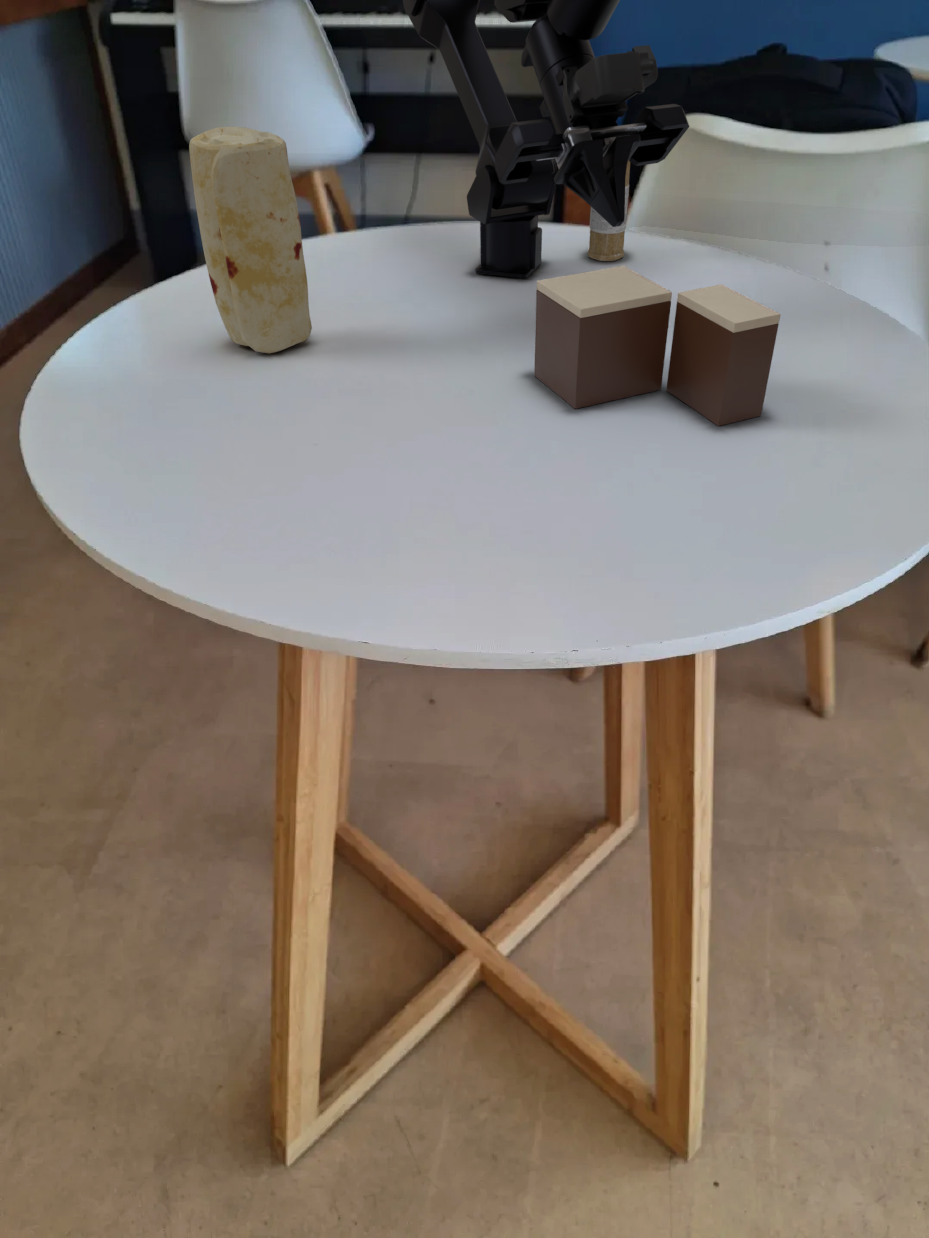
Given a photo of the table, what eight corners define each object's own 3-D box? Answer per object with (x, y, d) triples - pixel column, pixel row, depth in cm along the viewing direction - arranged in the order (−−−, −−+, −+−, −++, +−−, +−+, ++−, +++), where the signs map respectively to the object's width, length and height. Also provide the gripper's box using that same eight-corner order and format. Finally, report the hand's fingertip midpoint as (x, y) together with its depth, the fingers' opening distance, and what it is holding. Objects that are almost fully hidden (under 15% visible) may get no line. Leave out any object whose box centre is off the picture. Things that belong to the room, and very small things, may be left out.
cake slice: (666, 390, 85) (677, 292, 80) (707, 381, 87) (721, 284, 81) (718, 426, 80) (735, 323, 74) (761, 415, 81) (780, 313, 75)
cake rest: (534, 375, 89) (536, 280, 83) (615, 358, 91) (623, 265, 86) (575, 409, 83) (580, 309, 77) (661, 389, 86) (672, 291, 80)
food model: (319, 331, 99) (294, 121, 86) (308, 357, 93) (279, 136, 81) (228, 332, 99) (190, 123, 87) (212, 357, 94) (169, 138, 82)
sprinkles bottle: (605, 248, 119) (613, 131, 110) (631, 257, 116) (642, 137, 108) (579, 256, 116) (585, 137, 108) (606, 265, 114) (614, 144, 105)
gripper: (508, 19, 80) (564, 186, 79) (691, 5, 86) (745, 160, 84) (472, 107, 90) (521, 255, 89) (636, 89, 96) (684, 228, 95)
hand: (618, 224), depth 89 cm, fingers closed
